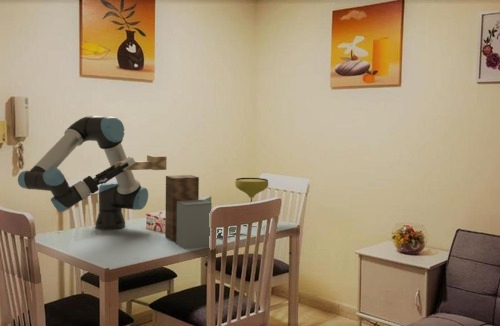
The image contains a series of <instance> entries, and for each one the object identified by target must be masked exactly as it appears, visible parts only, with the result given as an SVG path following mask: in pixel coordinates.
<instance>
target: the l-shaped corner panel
mask: <svg viewBox="0 0 500 326" xmlns="http://www.w3.org/2000/svg"><path fill="white" fill-rule="evenodd" d="M219 230H221V231H222V229H217V233H218V232H219ZM235 230H236V227H230V228H229V235H233V236H234V235H235V233H233V232H235ZM221 234H222V232H221Z"/></svg>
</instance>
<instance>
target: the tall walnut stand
mask: <svg viewBox="0 0 500 326" xmlns="http://www.w3.org/2000/svg"><path fill="white" fill-rule="evenodd" d="M199 186H200V177H199V176H195V175H192V174H183V175H182V174H181V175H165V217H164V218H165V222H164V223H165V228H164V230H165V234H164V235H165V236H164V237H165V238H166V239H168V240H170V241H171V242H176V236H177V201H187V200H199V197H200V196H199V190H200V187H199Z"/></svg>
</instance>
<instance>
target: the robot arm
mask: <svg viewBox="0 0 500 326" xmlns="http://www.w3.org/2000/svg"><path fill="white" fill-rule="evenodd" d="M124 137H125V126H124V124H123V122H122V121H121V119H120V118H118V117H116V116H110V115H108V116H99V115H87V116H84V117H81V118H79V119H78V120H76V121H75V122H73V123H72V124H71V125H70V126H68V128H66V130H65V131H64V134H63V136H62V137H61V138H60V139H59V140H58V141H57V142H55V144H54V145H52V147H51V148H50V149H49V150H48V151H47V152H46V153H45V154H44V155H43V156H42V157H41V159H39V160H38V162H36V163H35V164H34V165H33V167H32V168H30V169H29V170H23V171H21V172H20V173H19V174H18V177H17V183H18V185H19V187H21V188H22V189H26V190H37V191H49V192H51V194H52V195H53V197H51V198H50V202H51V204H52V205H53V207H54V208H55V210H56V211H57V212H58V213H63V212H64V211H66V210H70V208H72V207H73V206H75V205H76V204H78V203H79V202H81V201H83V200H87V198H89V197H90V196H91V194H95V193H97V192H98V215H97V218H96V220H95V228H96V229H99V230H118V229H123V228H125V227H126V221H125V218H124V214H123V209H126V210H133V211H137V210H138V211H140V210H143V209H144V208H145V207H146V205H147V203H148V199H149V191H148V189H147V188H146V187H144V186H141V183H140V181H139V180H138V179H136V178H135V177H134V174H133V173H134V172H133V170H124V169H126V168H128V167H129V166H131V165H132V164H134V163H136V162H135V158H134V157H131V156H128V157H127V155H126V153H125V150H124V148H123V145H122V142H123V141H124ZM88 141H91V142H92V141H94V142H97V146H98V147H99V148H100V149H101V150H104V153H105V155H106V159H107V160H108V163H109V166H110V167H109V166H108V168H106V169H104V170H103V171H100V172H99V173H97V174H95V175H94V176H95V177H92V176H91V175H88V176H86V177H84V178H83V179H82V180H78V181H77V182H76V183H74V184H73V185H71V186H70V185H69V183H68V180H67V179H66V177H65V174H64V173H63V172H62V171H61V170H60V169H59V168H58V167H60V165H61V164H62V163H63V162H64V161H65V160H66V159H67V158H68V157H69V156H70V154H72V152H73V151H74V150H75V149H76V148H77V147H81V146H82V145H83V143H85V142H88ZM114 162H124V163H122V164H120V166H118V167H116V168H115V169H114ZM113 178H115V181H116V182H109V181H111V180H112V179H113ZM107 182H109V183H107Z"/></svg>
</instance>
